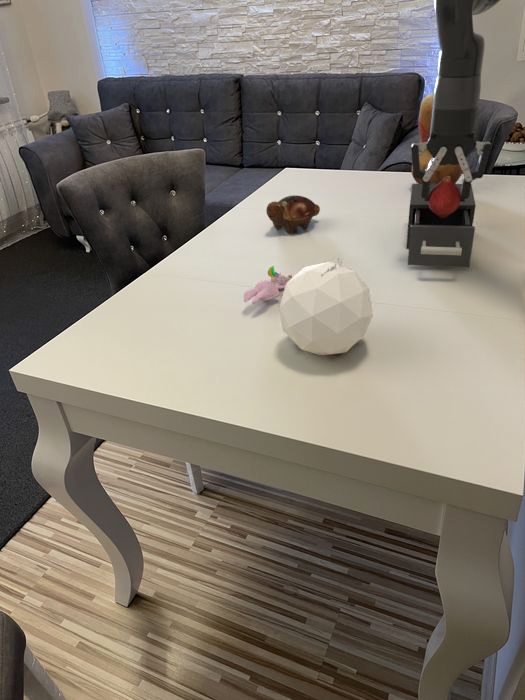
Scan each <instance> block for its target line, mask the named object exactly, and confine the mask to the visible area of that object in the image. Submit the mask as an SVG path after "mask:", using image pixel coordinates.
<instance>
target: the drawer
mask: <svg viewBox="0 0 525 700" xmlns="http://www.w3.org/2000/svg"><path fill="white" fill-rule="evenodd" d="M475 230H476V226H475V225H473V226H470V221H469V215H468V209H456V210H455V211H454V212H453V213H451V214H450V215H448V216H447V217H446V218H440V217H439V216H438V215H436V214H435V213H434V212H433V211H432V210H431V209H427V208H416V214H415V225H411V230H410V242H409V249H408V254H407V255H408V256H407V265H408V266H425V267H426V266H427V267H430V266H431V267H450V268H455V267H456V268H470V265H471V258H472V252H473V251H472V250H473V244H474V238H475Z"/></svg>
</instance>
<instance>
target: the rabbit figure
mask: <svg viewBox="0 0 525 700" xmlns="http://www.w3.org/2000/svg"><path fill="white" fill-rule="evenodd" d="M267 275H268V277H270V280H267V279H261V280H260V281H257V283H256V284H255V285H254V286H253V287H251V288H249V289H247V290H246V291H245V292H244V294H243V302H244V303H248V301H250V300H252V301H251V304H256V303H257V302H258V301H259V300H260V301H266V302H268V301H270V300H272V299H277V298H278V297H279V296H280V290H282V289H285V286H286V283H287V282H288V281H289V280H290V279H292V278H293V276H292V275H293V274H292V273H291V274H288V276H285V275H282V274H281V273H278V272H277V271H276V270H275V266H274V265H272V266H270V267H269V268H268V270H267Z"/></svg>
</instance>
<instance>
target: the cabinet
mask: <svg viewBox="0 0 525 700" xmlns="http://www.w3.org/2000/svg"><path fill="white" fill-rule="evenodd" d="M435 185H437V184H430V190H429V195H430V192H431V190H432V189H433V188H434V186H435ZM455 185H456V186H457V187H458V189H459V191H460V196H461V189H462V183H455ZM410 190H411V191H410V199H409V209H408V222H407V232H406V233H407V235H406V246H405V247H406V249H407V250H409V242H410V230H411V225H415V214H416V208H427V209H430V207H429V205H428V201H425V198H422V196H421V192H422V184H418V183H411V189H410ZM457 209H468V215H469V221H470V226H474V219H475V212H476V200H475V194H474V190H473V186H472V184H471V187H470V194H469V197H468V199H465V202H461V201H460V205H459V206H458V208H457Z"/></svg>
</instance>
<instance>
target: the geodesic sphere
mask: <svg viewBox="0 0 525 700" xmlns="http://www.w3.org/2000/svg"><path fill="white" fill-rule="evenodd" d="M342 262H343V261H340V257H339V256H338V257H337V258H336V263H335V262H332V261H327V262H322V263H317V264H312V265H307V266H304V267H303V268H302V269H300V271H298V272H297V273H296V274H295V275H294V276H292V279H290V280H289V281H288V282H287V283H286V286H285V288H283V293H282V297H281V300H280V304H279V306H278V309H279V310H278V311H279V315H280V316H279V317H280V323H281V328H282V331H283V332H284V334H286V335H287V336H288V337H289V339H290V340H292V342H293V343H294V344H295V345H296V346H297V347H298V348H299V349H300V350H302V351H306V352H309V353H311V354H316V355H318V356H328V355H330V356H331V355H337V354H344V353H347V352H348V351H349V350H350V349H351V348H353V346H354V345H356V344H357V343H358V342H359V341H360V340H361V339H362V338H363V337H364V336H365V335H366V332H367V330H368V327H369V325H370V323H371V321H372V319H373V317H374V312H373V307H372V300H371V291H370V288H369V287H368V285H367V284H366V283H365V282H364V281H363V280H362V279H361V277H360V276H359V275H358V274H357V273H356V271H355V270H352V269H349V268H347V267H345V266H342Z"/></svg>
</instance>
